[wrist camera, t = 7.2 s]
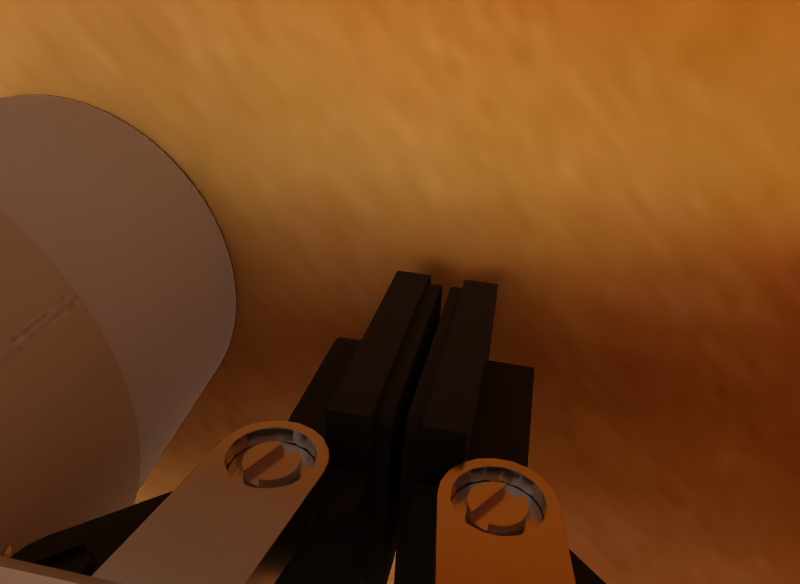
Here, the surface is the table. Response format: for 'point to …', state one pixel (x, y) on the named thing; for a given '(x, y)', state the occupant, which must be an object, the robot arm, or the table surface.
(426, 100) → the table surface
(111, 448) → the coffee cup
